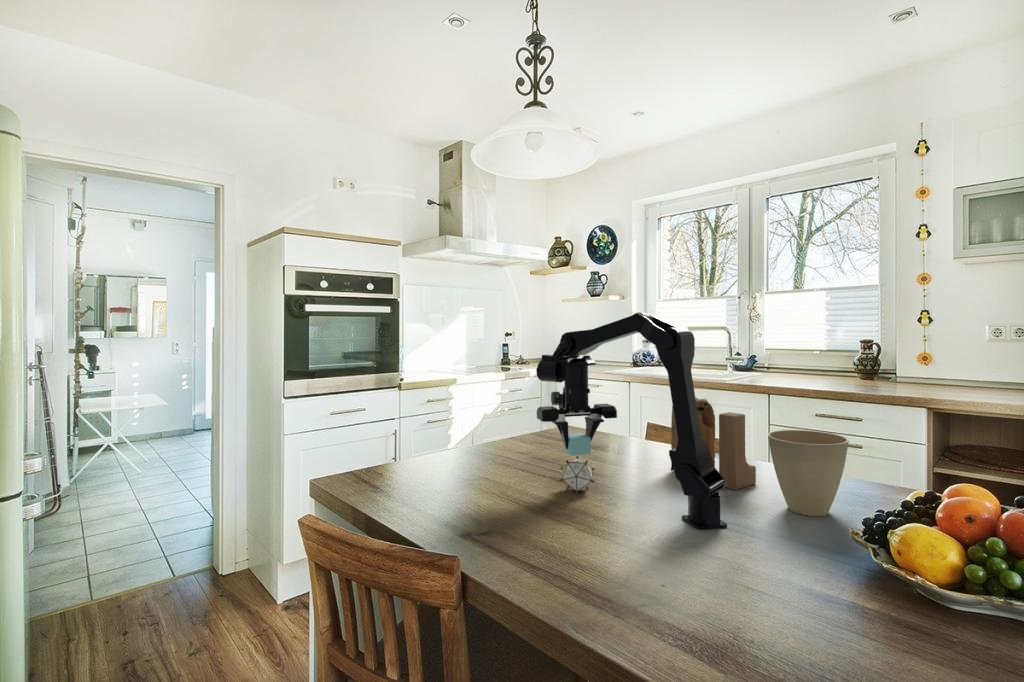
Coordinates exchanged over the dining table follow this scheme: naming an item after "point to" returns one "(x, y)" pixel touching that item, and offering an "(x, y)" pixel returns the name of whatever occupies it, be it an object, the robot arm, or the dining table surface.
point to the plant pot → (808, 468)
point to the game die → (577, 475)
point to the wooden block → (734, 452)
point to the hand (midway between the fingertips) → (577, 447)
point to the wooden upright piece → (705, 423)
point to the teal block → (578, 444)
